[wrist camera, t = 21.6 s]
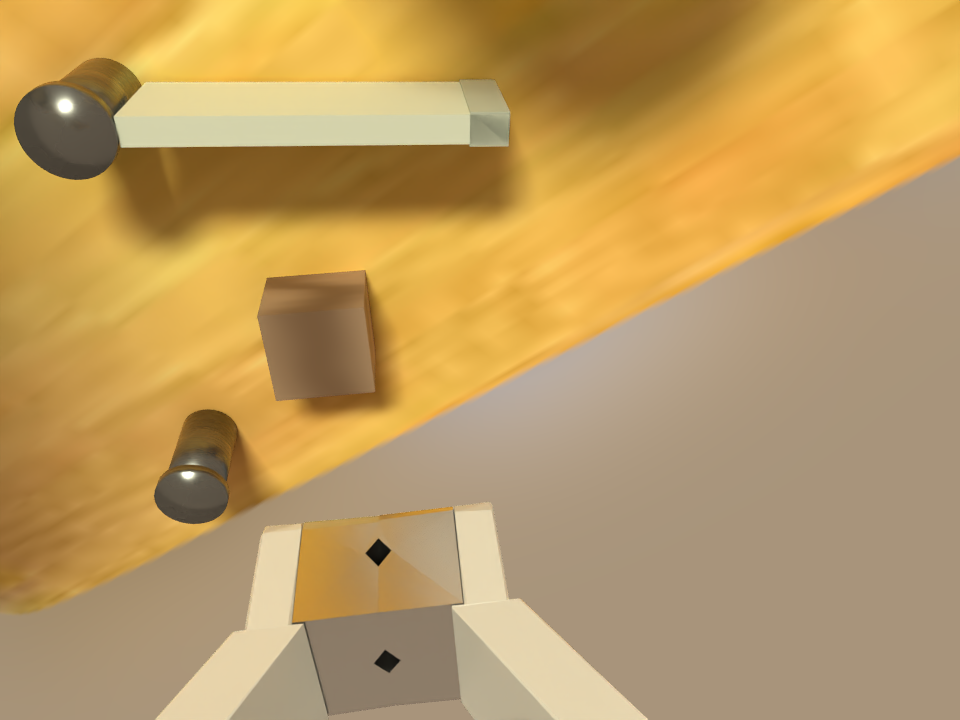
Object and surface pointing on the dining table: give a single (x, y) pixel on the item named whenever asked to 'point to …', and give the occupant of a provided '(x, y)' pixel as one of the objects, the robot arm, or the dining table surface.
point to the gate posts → (85, 154)
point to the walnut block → (318, 335)
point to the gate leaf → (314, 114)
